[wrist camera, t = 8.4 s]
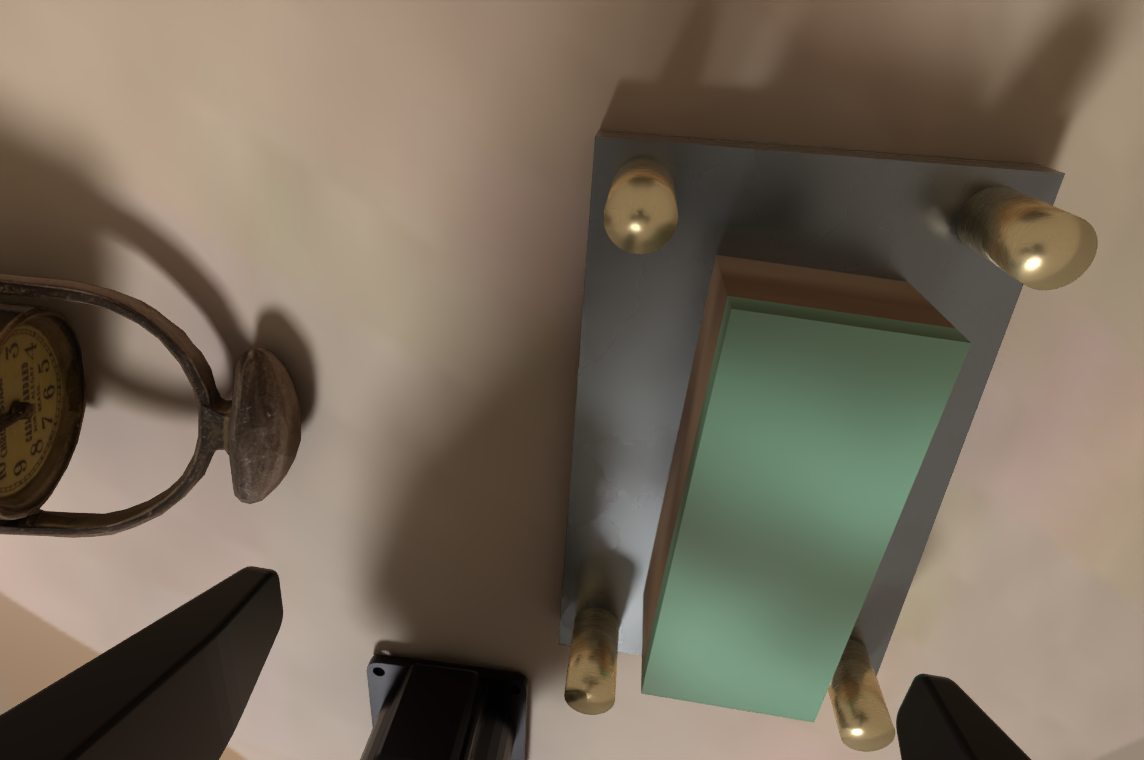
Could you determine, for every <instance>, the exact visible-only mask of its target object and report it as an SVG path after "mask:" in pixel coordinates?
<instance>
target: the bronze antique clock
mask: <svg viewBox="0 0 1144 760" xmlns="http://www.w3.org/2000/svg"><path fill="white" fill-rule="evenodd" d="M0 294H2V295H14V296H26V297H39V298H51V299H59V300H66V301H72V302H79V303H86V304H90V305H94V306H98V307H102V308H106V309H110V310H112V311H114V312H116V313H118V314H120V315H122V316H124V317H126V318H128V319H130V320H132V321H134V322H136V323H138V324H139V325H141V326H142V327H143V328H145V329H146V330H147V331H149V332H150V333H151V334H153V335H154V336H155V337H157V338H158V339H159V340H160V341H161V342H162V343H163V344H164V346H165V347H166V348H167V349H168V350H169V351H170V353H171V354H172V355H173V356H174V357H175V358H176V360H177V361H178V362H179V363H180V365H181V367H182V369H183V371H184V372H185V374H186V376H187V378H188V380H189V382H190V383H191V385H192V387H193V391H194V394H195V398H196V402H197V406H198V409H199V426H198V440H197V444H196V448H195V453H194V455H193V457H192V459H191V461H190V463H189V464H188V466H187V468H186V470H185V472H184V473H183V475H182V476H181V477H180V478H179V480H178V481H177V482H175V483H174V484H173V485H172V486H171V487H170V488H169V489H167V490H166V491H164V492H162V493H161V494H159V495H157V496H156V497H154V498H152V499H151V500H149V501H147V502H144V503H141V504H139V505H136V506H134V507H131V508H128V509H125V510H121V511H116V512H111V513H106V514H95V513H69V512H51V511H43V510H41V509H40V508H41V506H42V505H43V504H44V503H45V502H46V501H47V500H48V498H49V497H50V496H51V494H52V493H53V491H54V489H55V488H56V486H57V484H58V483H59V481H60V479H61V477H62V476H63V474H64V472H65V471H66V469H67V467H68V465H69V462H70V460H71V457H72V455H73V453H74V450H75V448H76V445H77V443H78V439H79V435H80V431H81V426H82V422H83V417H84V412H85V407H86V389H85V378H84V370H83V363H82V356H81V350H80V346H79V344H78V341H77V339H76V336H75V334H74V332H73V330H72V329H71V327H70V326H69V324H68V323H67V322H66V320H65V319H64V317H63V316H62V315H61V314H59V313H57V312H55V311H53V310H51V309H49V308H47V307H39V306H31V305H22V304H13V303H4V302H0V534H9V535H34V536H54V537H72V538H75V537H94V536H104V535H112V534H116V533H119V532H122V531H125V530H128V529H131V528H134V527H136V526H138V525H141V524H143V523H145V522H147V521H149V520H151V519H154V518H156V517H158V516H160V515H162V514H163V513H164V512H166V511H167V510H168V509H170V508H171V507H172V506H173V505H175V504H176V503H177V502H178V501H180V500H181V499H182V498H183V497H185V496H186V495H187V493H188V492H189V491H190V490H191V489H192V488H193V487H194V486H195V485H196V483H197V482H198V481H199V480H200V479H201V478H202V477H203V476H204V475H205V472H206V470H207V468H208V466H209V463H210V461H211V459H212V456H213V454H214V453H215V451H216V450H225V451H226V452H227V453H228V455H229V457H230V465H231V474H232V482H233V489H234V494H235V496H236V497H237V498H238V499H239V500H240V501H241V502H244V503H249V504H252V503H255V502H259V501H262V500H263V499H264V498H265V497H266V496H268V495H269V494H270V493H271V492H272V491H273V490H274V489H275V488H276V487H277V486H278V485H279V484H280V482H281V481H282V480H283V478H284V477H285V476H286V474H287V472H288V471H289V469H290V467H291V465H292V463H293V461H294V460H295V457H296V454H297V451H298V447H299V444H300V441H301V411H300V407H299V403H298V399H297V395H296V391H295V388H294V384H293V382H292V380H291V378H290V376H289V374H288V372H287V371H286V369H285V367H284V365H283V364H282V363H281V361H280V360H279V359H278V358H277V357H276V356H275V354H274V353H272V352H270V351H268V350H266V349H264V348H262V347H251V348H250V349H249V350H247V351H246V352H245V353H244V354H243V355H242V356H241V357H240V358H239V360H238V362H237V365H236V372H235V381H234V390H233V398H232V400H225V399H223V398H221V396H220V394H219V392H218V390H217V388H216V385H215V381H214V377H213V374H212V370H211V368H210V366H209V364H208V363H207V361H206V359H205V357H204V356H203V354H202V352H201V351H200V350H199V349H198V348H197V347H196V346H195V345H194V344H193V343H192V342H191V340H190V339H189V337H188V336H187V335H186V333H185V332H184V331H183V330H182V329H180V328H179V327H178V326H176V325H175V324H174V323H172V322H171V321H170V320H168V319H167V318H166V317H165V316H163V315H162V314H161V313H160V312H158V311H157V310H156V309H154V308H153V307H151V306H149V305H148V304H146V303H145V302H143V301H141V300H138V299H135V298H133V297H130V296H128V295H125V294H122V293H120V292H117V291H115V290H111V289H106V288H102V287H98V286H94V285H90V284H85V283H81V282H77V281H73V280H62V279H50V278H38V277H26V276H17V275H9V274H1V273H0Z"/></svg>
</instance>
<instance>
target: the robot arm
mask: <svg viewBox="0 0 1144 760" xmlns="http://www.w3.org/2000/svg"><path fill="white" fill-rule="evenodd" d="M282 618H283V606H282V598H281V590H280V582H279V576H278V574H277V572H276V571H274V570H271V569H265V568H259V567H252V566H251V567H246V568H243V569H242V570H240V571H238V572H237V573H235V574H233V575H232V576H230V577H228V578H227V579H225V580H223V581H222V582H220V583H218V584H217V585H215V586H213V587H212V588H210V589H208V590H207V591H205V592H203V593H202V594H200V595H199V596H197V597H195V598H194V599H192V600H190V601H189V602H187V603H185V604H184V605H182V606H180V607H179V608H177V609H175V610H174V611H172V612H170V613H169V614H167V615H165V616H164V617H162V618H161V619H159V620H157V621H156V622H154V623H152V624H151V625H149V626H147V627H146V628H144V629H142V630H141V631H139V632H137V633H136V634H134V635H132V636H131V637H129V638H127V639H126V640H124V641H123V642H121V643H119V644H118V645H116V646H114V647H113V648H111V649H109V650H108V651H106V652H104V653H103V654H101V655H99V656H98V657H96V658H94V659H93V660H91V661H90V662H88V663H86V664H85V665H83V666H81V667H80V668H78V669H76V670H75V671H73V672H71V673H70V674H68V675H66V676H65V677H63V678H61V679H60V680H58V681H57V682H55V683H53V684H52V685H50V686H48V687H47V688H45V689H43V690H42V691H40V692H38V693H37V694H35V695H34V696H32V697H30V698H28V699H27V700H25V701H23V702H22V703H20V704H18V705H17V706H15V707H14V708H12V709H10V710H9V711H7V712H5V713H4V714H2V715H0V760H219V758H220V757H221V755H222V753H223V751H224V750H225V748H226V746H227V744H228V742H229V740H230V738H231V737H232V735H233V733H234V731H235V729H236V727H237V725H238V722H239V720H240V718H241V716H242V714H243V711H244V709H245V707H246V705H247V702H248V700H249V698H250V695H251V693H252V691H253V689H254V686H255V684H256V682H257V679H258V677H259V675H260V673H261V670H262V668H263V666H264V664H265V661H266V659H267V657H268V654H269V652H270V650H271V648H272V645H273V643H274V641H275V638H276V636H277V634H278V632H279V629H280V626H281V623H282ZM367 677H368V686H369V696H370V705H371V715H372V724H373V729H372V732H371V734H370V737H369V739H368V742H367V744H366V747H365V749H364V752H363V754H362V756H361V759H360V760H525V747H526V726H527V704H528V679H527V678H526V677H525V676H524V675H522V674H520V673H515V672H508V671H500V670H492V669H485V668H477V667H469V666H462V665H454V664H447V663H439V662H431V661H424V660H416V659H408V658H401V657H393V656H386V655H376V656H373V657H372V658H371V660H370V662H369V664H368V667H367ZM896 728H897V735H898V741H899V747H900V753H901V759H902V760H1031V759H1030V758H1029V757H1028V756H1027V755H1026V754H1025V753H1024V752H1023V751H1022V750H1021V749H1020V748H1019V747H1018V746H1017V745H1016V744H1015V743H1014V742H1013V741H1012V740H1011V739H1010V738H1009V737H1008V735H1007V734H1006V733H1005V732H1004V731H1003V730H1002V729H1001V728H1000V727H999V726H998V725H997V724H996V723H995V722H994V721H993V720H992V719H991V718H990V717H989V716H988V715H987V714H986V713H985V712H984V711H983V710H982V709H981V708H980V707H979V706H978V705H977V704H976V703H975V702H974V701H973V700H972V699H971V698H970V697H969V696H968V695H967V694H966V693H965V692H964V691H963V690H962V689H961V688H960V687H959V686H958V685H957V684H956V683H955V682H954V681H952V680H951V679H949V678H946V677H941V676H934V675H928V674H919V675H918V676H916V677H915V678H914V680H913V682H912V684H911V686H910V688H909V690H908V692H907V694H906V696H905V698H904V700H903V702H902V704H901V706H900V708H899V711H898V714H897V720H896Z"/></svg>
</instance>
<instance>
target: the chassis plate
mask: <svg viewBox="0 0 1144 760" xmlns="http://www.w3.org/2000/svg"><path fill="white" fill-rule="evenodd" d="M1064 175H1065V173H1062V172H1059V171H1056V170H1053V169H1050V168H1047V167H1044V166H1041V165H1033V164H1021V163H1008V162H995V161H982V160H969V159H957V158H944V157H931V156H918V155H905V154H892V153H880V152H867V151H854V150H841V149H828V148H815V147H803V146H790V145H777V144H764V143H751V142H739V141H726V140H713V139H700V138H687V137H674V136H662V135H649V134H636V133H623V132H610V131H598V133H597V134H596V136H595V147H594V161H593V174H592V188H591V202H590V216H589V230H588V243H587V257H586V271H585V285H584V299H583V312H582V326H581V340H580V354H579V367H578V381H577V395H576V409H575V423H574V436H573V450H572V464H571V478H570V492H569V505H568V519H567V533H566V547H565V560H564V574H563V588H562V602H561V616H560V629H559V643H558V645H565V646H571V649H570V656H569V664H568V671H567V679H566V686H565V694H564V696H565V700H566V702H567V704H568V705H569V706H570V707H571V708H573V709H574V710H576V711H578V712H580V713H584V714H589V715H596V714H601V713H604V712H606V711H608V710H609V709H611V708H612V706H613V705H614V702H615V689H616V672H617V654H618V652H620V653H628V654H636V655H642V625H643V592H644V587H645V583H646V578H647V573H648V569H649V564H650V559H651V555H652V550H653V545H654V541H655V536H656V531H657V527H658V522H659V517H660V513H661V508H662V504H663V499H664V494H665V490H666V485H667V480H668V476H669V471H670V466H671V462H672V457H673V452H674V448H675V443H676V438H677V434H678V429H679V425H680V420H681V415H682V411H683V406H684V401H685V397H686V392H687V387H688V383H689V378H690V373H691V369H692V364H693V359H694V355H695V350H696V346H697V341H698V336H699V332H700V327H701V322H702V318H703V313H704V308H705V304H706V299H707V294H708V290H709V285H710V280H711V276H712V271H713V266H714V262H715V257H716V255H721V256H728V257H735V258H742V259H749V260H756V261H763V262H770V263H778V264H785V265H792V266H799V267H806V268H813V269H820V270H827V271H834V272H842V273H849V274H856V275H863V276H870V277H877V278H884V279H891V280H899V281H906V282H909V283H910V284H911V285H912V286H913V287H914V288H915V289H916V290H917V291H918V292H919V293H920V294H921V295H922V296H923V297H924V298H925V299H926V300H927V301H928V302H929V303H931V304H932V305H933V306H934V307H935V308H936V309H937V310H938V311H939V312H940V313H941V314H942V315H943V316H944V317H945V318H946V319H947V320H948V321H949V322H950V323H951V324H952V325H953V326H954V327H955V328H956V329H957V330H958V331H959V332H960V333H961V334H963V335H964V336H965V337H966V338H967V339H968V340H969V341H970V342H971V346H970V348H969V350H968V353H967V355H966V358H965V360H964V363H963V365H962V367H961V370H960V372H959V375H958V377H957V379H956V382H955V384H954V387H953V389H952V391H951V394H950V396H949V399H948V401H947V403H946V406H945V408H944V411H943V413H942V416H941V418H940V420H939V423H938V425H937V428H936V430H935V432H934V435H933V437H932V440H931V442H930V444H929V447H928V449H927V452H926V454H925V456H924V459H923V461H922V464H921V466H920V469H919V471H918V473H917V476H916V478H915V481H914V483H913V485H912V488H911V490H910V493H909V495H908V497H907V500H906V502H905V505H904V507H903V509H902V512H901V514H900V517H899V519H898V522H897V524H896V526H895V529H894V531H893V534H892V536H891V538H890V541H889V543H888V546H887V548H886V550H885V553H884V555H883V558H882V560H881V562H880V565H879V567H878V570H877V572H876V574H875V577H874V579H873V582H872V584H871V587H870V589H869V591H868V594H867V596H866V599H865V601H864V603H863V606H862V608H861V611H860V613H859V615H858V618H857V620H856V623H855V625H854V627H853V630H852V632H851V635H850V637H849V640H848V642H847V644H846V647H845V649H844V652H843V654H842V656H841V659H840V661H839V664H838V666H837V668H836V671H835V673H834V676H833V678H832V680H831V683H830V685H829V688H828V691H829V695H830V699H831V703H832V706H833V710H834V714H835V718H836V721H837V725H838V729H839V733H840V736H841V739H842V741H843V743H844V744H845V745H847V746H848V747H850V748H852V749H854V750H858V751H876V750H879V749H882V748H884V747H886V746H888V745H889V744H890V743H891V742H892V741H893V739H894V737H895V729H894V727H893V724H892V721H891V718H890V715H889V712H888V709H887V706H886V703H885V701H884V698H883V695H882V692H881V689H880V686H879V683H878V680H877V678H876V676H877V673H878V670H879V668H880V665H881V662H882V660H883V657H884V654H885V652H886V649H887V646H888V644H889V641H890V638H891V636H892V633H893V630H894V628H895V625H896V622H897V620H898V617H899V614H900V612H901V609H902V606H903V604H904V601H905V598H906V596H907V593H908V590H909V588H910V585H911V582H912V580H913V577H914V574H915V572H916V569H917V566H918V564H919V561H920V558H921V556H922V553H923V550H924V548H925V545H926V542H927V540H928V537H929V534H930V532H931V529H932V526H933V524H934V521H935V518H936V516H937V513H938V510H939V508H940V505H941V502H942V500H943V497H944V494H945V492H946V489H947V486H948V484H949V481H950V478H951V476H952V473H953V470H954V468H955V465H956V463H957V460H958V457H959V455H960V452H961V449H962V447H963V444H964V441H965V439H966V436H967V433H968V431H969V428H970V425H971V423H972V420H973V417H974V415H975V412H976V409H977V407H978V404H979V401H980V399H981V396H982V393H983V391H984V388H985V385H986V383H987V380H988V377H989V375H990V372H991V369H992V367H993V364H994V361H995V359H996V356H997V353H998V351H999V348H1000V345H1001V343H1002V340H1003V337H1004V335H1005V332H1006V329H1007V327H1008V324H1009V321H1010V319H1011V316H1012V313H1013V311H1014V308H1015V305H1016V303H1017V300H1018V297H1019V295H1020V292H1021V289H1022V287H1023V284H1024V285H1026V286H1028V287H1030V288H1033V289H1037V290H1052V289H1057V288H1060V287H1063V286H1065V285H1067V284H1069V283H1071V282H1073V281H1074V280H1076V279H1077V278H1078V277H1080V276H1081V275H1082V274H1083V273H1084V272H1085V271H1086V270H1087V269H1088V267H1089V266H1090V264H1091V263H1092V261H1093V259H1094V257H1095V254H1096V251H1097V243H1098V242H1097V236H1096V232H1095V230H1094V228H1093V227H1092V226H1091V225H1090V224H1089V223H1088V222H1087V221H1086V220H1084V219H1082V218H1080V217H1078V216H1075V215H1073V214H1071V213H1068V212H1066V211H1064V210H1061V209H1059V208H1057V207H1054V206H1053V204H1054V201H1055V199H1056V196H1057V193H1058V191H1059V188H1060V185H1061V183H1062V180H1063V177H1064Z"/></svg>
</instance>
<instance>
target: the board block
mask: <svg viewBox="0 0 1144 760" xmlns="http://www.w3.org/2000/svg"><path fill="white" fill-rule="evenodd" d="M970 346H971V342H970V341H969V340H968V339H967V338H966V337H965V336H964V335H963V334H961V333H960V332H959V331H958V330H957V329H956V328H955V327H954V326H953V325H952V324H951V323H950V322H949V321H948V320H947V319H946V318H945V317H944V316H943V315H942V314H941V313H940V312H939V311H938V310H937V309H936V308H935V307H934V306H933V305H932V304H931V303H929V302H928V301H927V300H926V299H925V298H924V297H923V296H922V295H921V294H920V293H919V292H918V291H917V290H916V289H915V288H914V287H913V286H912V285H911V284H910V283H909V282H906V281H899V280H891V279H884V278H877V277H870V276H863V275H856V274H849V273H842V272H834V271H827V270H820V269H813V268H806V267H799V266H792V265H785V264H778V263H770V262H763V261H756V260H749V259H742V258H735V257H728V256H721V255H716V257H715V262H714V266H713V271H712V276H711V280H710V285H709V290H708V294H707V299H706V304H705V308H704V313H703V318H702V322H701V327H700V332H699V336H698V341H697V346H696V350H695V355H694V359H693V364H692V369H691V373H690V378H689V383H688V387H687V392H686V397H685V401H684V406H683V411H682V415H681V420H680V425H679V429H678V434H677V438H676V443H675V448H674V452H673V457H672V462H671V466H670V471H669V476H668V480H667V485H666V490H665V494H664V499H663V504H662V508H661V513H660V517H659V522H658V527H657V531H656V536H655V541H654V545H653V550H652V555H651V559H650V564H649V569H648V573H647V578H646V583H645V587H644V592H643V625H642V681H641V693H642V694H648V695H654V696H660V697H666V698H672V699H678V700H684V701H690V702H696V703H702V704H708V705H713V706H719V707H725V708H731V709H737V710H743V711H749V712H755V713H761V714H767V715H773V716H779V717H785V718H791V719H797V720H803V721H809V722H814V721H815V719H816V717H817V714H818V712H819V709H820V707H821V705H822V702H823V700H824V697H825V695H826V693H827V690H828V688H829V685H830V683H831V680H832V678H833V676H834V673H835V671H836V668H837V666H838V664H839V661H840V659H841V656H842V654H843V652H844V649H845V647H846V644H847V642H848V640H849V637H850V635H851V632H852V630H853V627H854V625H855V623H856V620H857V618H858V615H859V613H860V611H861V608H862V606H863V603H864V601H865V599H866V596H867V594H868V591H869V589H870V587H871V584H872V582H873V579H874V577H875V574H876V572H877V570H878V567H879V565H880V562H881V560H882V558H883V555H884V553H885V550H886V548H887V546H888V543H889V541H890V538H891V536H892V534H893V531H894V529H895V526H896V524H897V522H898V519H899V517H900V514H901V512H902V509H903V507H904V505H905V502H906V500H907V497H908V495H909V493H910V490H911V488H912V485H913V483H914V481H915V478H916V476H917V473H918V471H919V469H920V466H921V464H922V461H923V459H924V456H925V454H926V452H927V449H928V447H929V444H930V442H931V440H932V437H933V435H934V432H935V430H936V428H937V425H938V423H939V420H940V418H941V416H942V413H943V411H944V408H945V406H946V403H947V401H948V399H949V396H950V394H951V391H952V389H953V387H954V384H955V382H956V379H957V377H958V375H959V372H960V370H961V367H962V365H963V363H964V360H965V358H966V355H967V353H968V350H969V348H970Z"/></svg>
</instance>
